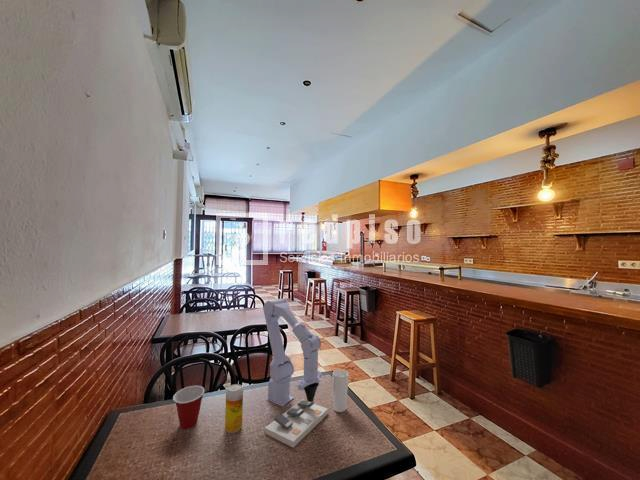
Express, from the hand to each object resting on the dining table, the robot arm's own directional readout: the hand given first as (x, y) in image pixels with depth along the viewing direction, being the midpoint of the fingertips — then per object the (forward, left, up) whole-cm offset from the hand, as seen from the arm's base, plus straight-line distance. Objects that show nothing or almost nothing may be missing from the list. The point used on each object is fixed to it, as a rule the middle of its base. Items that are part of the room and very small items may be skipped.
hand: (310, 400), depth 111 cm
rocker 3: (-2, 0, -2) cm, 3 cm away
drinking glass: (+8, +10, -6) cm, 14 cm away
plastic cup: (-35, -31, -6) cm, 47 cm away
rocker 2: (-2, -7, -2) cm, 8 cm away
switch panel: (-1, -7, -5) cm, 9 cm away
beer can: (-19, -23, -6) cm, 30 cm away
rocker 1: (-2, -14, -2) cm, 14 cm away
